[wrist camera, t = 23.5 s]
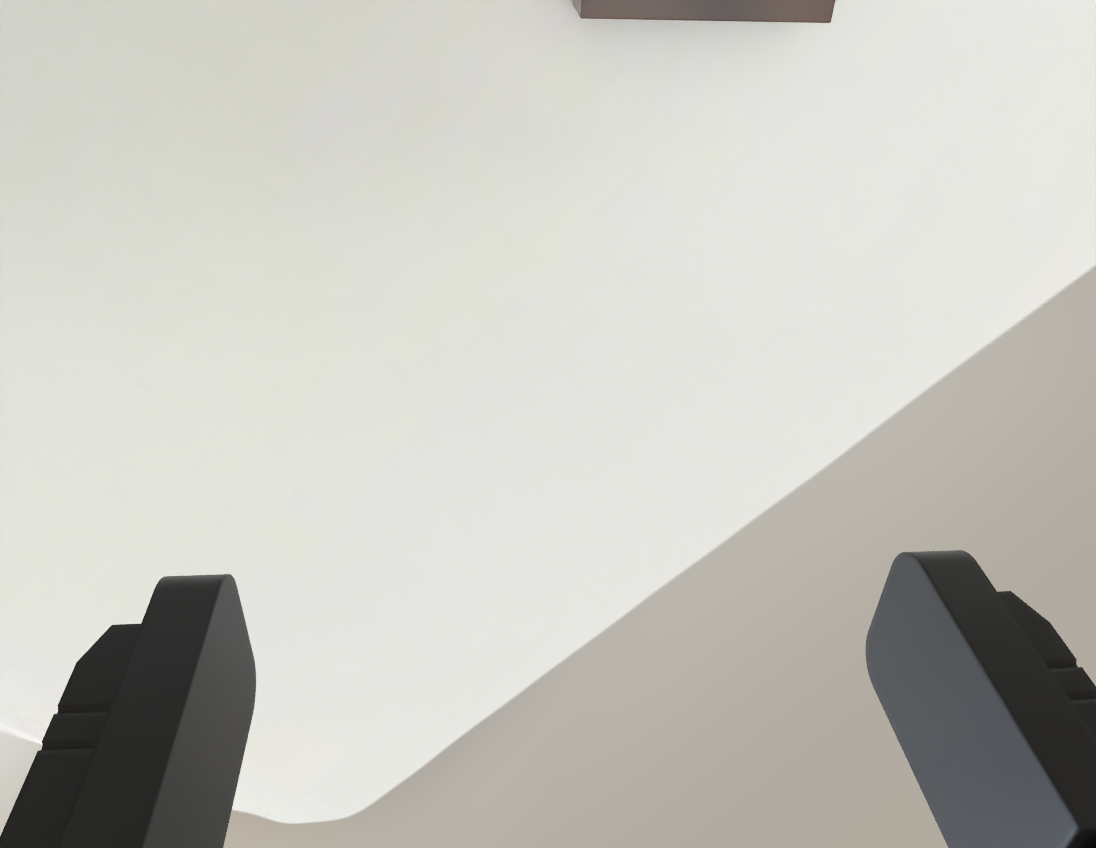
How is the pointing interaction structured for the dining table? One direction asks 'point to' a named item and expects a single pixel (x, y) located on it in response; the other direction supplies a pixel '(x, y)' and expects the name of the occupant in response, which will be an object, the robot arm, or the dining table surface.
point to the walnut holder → (709, 10)
